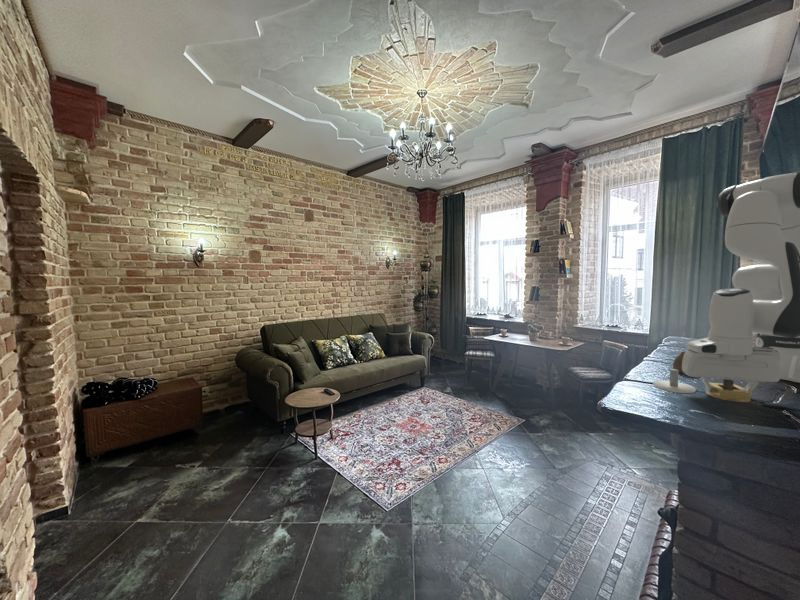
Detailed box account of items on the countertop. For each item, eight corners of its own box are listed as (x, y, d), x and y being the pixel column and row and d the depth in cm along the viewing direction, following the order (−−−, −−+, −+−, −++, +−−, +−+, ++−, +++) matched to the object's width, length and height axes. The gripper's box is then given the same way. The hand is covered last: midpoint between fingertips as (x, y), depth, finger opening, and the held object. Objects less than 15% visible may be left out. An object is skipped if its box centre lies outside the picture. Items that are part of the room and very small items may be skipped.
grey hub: (686, 388, 101) (686, 366, 100) (702, 399, 92) (703, 376, 91) (648, 385, 104) (648, 364, 104) (660, 395, 95) (660, 373, 95)
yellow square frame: (735, 392, 92) (736, 384, 92) (750, 401, 86) (750, 392, 86) (707, 390, 94) (707, 382, 94) (719, 398, 88) (720, 389, 88)
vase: (704, 379, 108) (704, 354, 107) (680, 379, 109) (681, 354, 109) (689, 373, 115) (690, 350, 114) (668, 373, 116) (668, 349, 115)
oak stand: (738, 396, 93) (739, 376, 92) (759, 408, 84) (760, 387, 84) (699, 393, 96) (700, 374, 96) (716, 404, 88) (716, 383, 87)
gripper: (771, 345, 88) (769, 393, 89) (680, 342, 96) (678, 386, 97) (789, 350, 82) (786, 401, 83) (690, 346, 90) (688, 393, 91)
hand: (727, 393), depth 90 cm, fingers closed on yellow square frame, 6 cm apart
